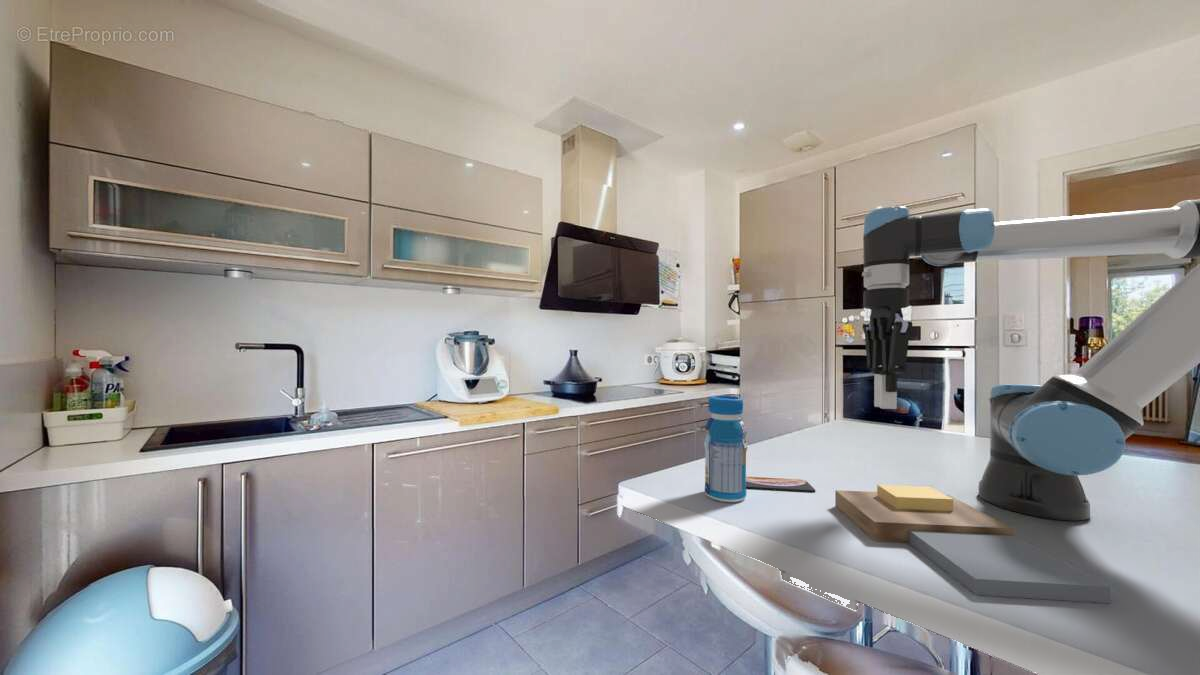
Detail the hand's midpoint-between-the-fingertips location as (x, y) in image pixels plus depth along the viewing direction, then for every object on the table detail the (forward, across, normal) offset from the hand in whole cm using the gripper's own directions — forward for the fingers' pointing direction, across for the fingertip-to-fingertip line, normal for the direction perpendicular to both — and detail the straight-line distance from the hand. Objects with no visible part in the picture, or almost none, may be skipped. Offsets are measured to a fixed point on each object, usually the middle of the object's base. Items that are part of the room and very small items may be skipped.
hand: (885, 407), depth 84 cm
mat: (+18, +25, +2) cm, 31 cm away
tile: (+15, +9, 0) cm, 18 cm away
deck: (+18, +11, -1) cm, 21 cm away
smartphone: (+19, -7, -19) cm, 28 cm away
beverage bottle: (+19, +1, -31) cm, 36 cm away
